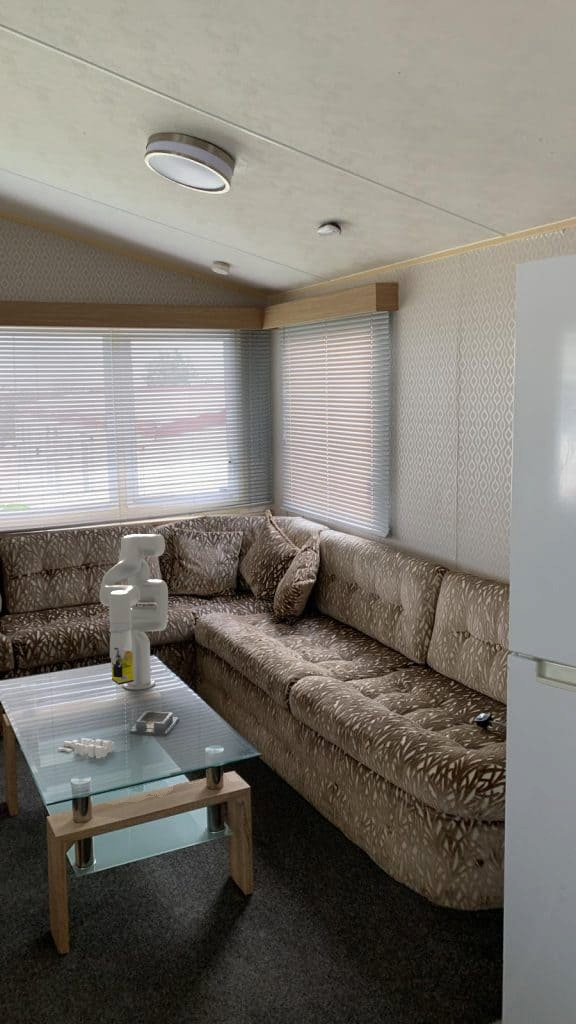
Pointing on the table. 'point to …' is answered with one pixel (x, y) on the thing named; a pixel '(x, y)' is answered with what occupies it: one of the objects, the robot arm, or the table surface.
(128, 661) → the supplement box
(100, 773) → the table surface
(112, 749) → the modular blocks
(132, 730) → the grey square tray
